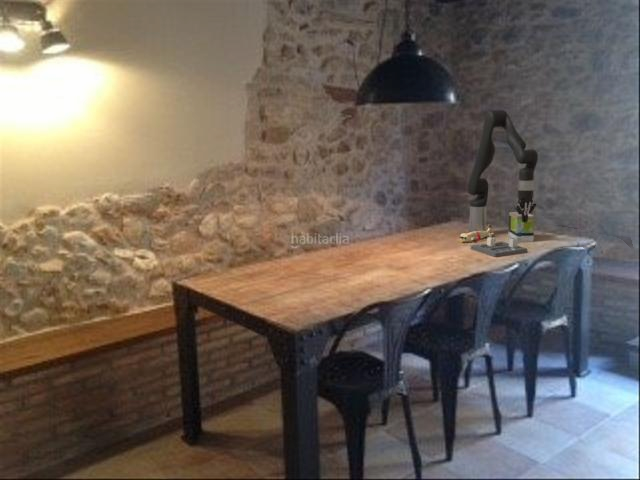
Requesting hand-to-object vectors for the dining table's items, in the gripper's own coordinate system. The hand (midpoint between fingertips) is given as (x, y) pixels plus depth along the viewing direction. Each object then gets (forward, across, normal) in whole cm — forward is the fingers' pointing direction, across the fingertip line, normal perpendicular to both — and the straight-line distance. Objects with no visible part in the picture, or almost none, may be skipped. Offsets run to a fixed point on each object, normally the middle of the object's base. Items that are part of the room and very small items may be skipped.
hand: (524, 222), depth 300 cm
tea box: (+15, -15, -20) cm, 29 cm away
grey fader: (+12, +7, 0) cm, 14 cm away
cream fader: (+12, +15, -8) cm, 21 cm away
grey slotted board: (+14, +13, -4) cm, 20 cm away
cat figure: (+15, +6, -32) cm, 36 cm away
